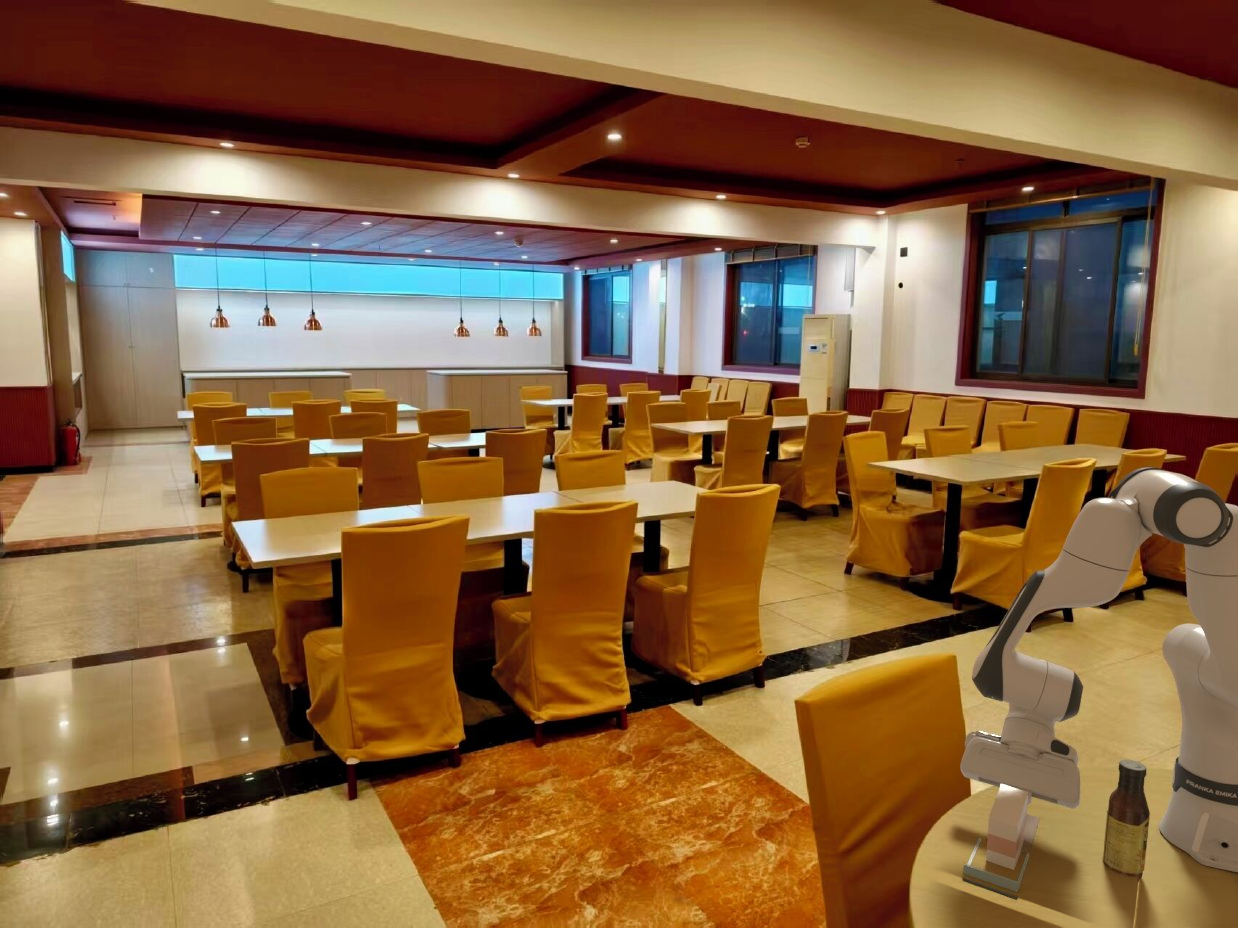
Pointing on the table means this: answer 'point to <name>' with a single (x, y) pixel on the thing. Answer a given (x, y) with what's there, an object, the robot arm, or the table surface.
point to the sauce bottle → (1127, 822)
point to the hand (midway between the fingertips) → (1011, 814)
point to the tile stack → (1007, 826)
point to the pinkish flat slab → (1029, 832)
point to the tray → (993, 876)
